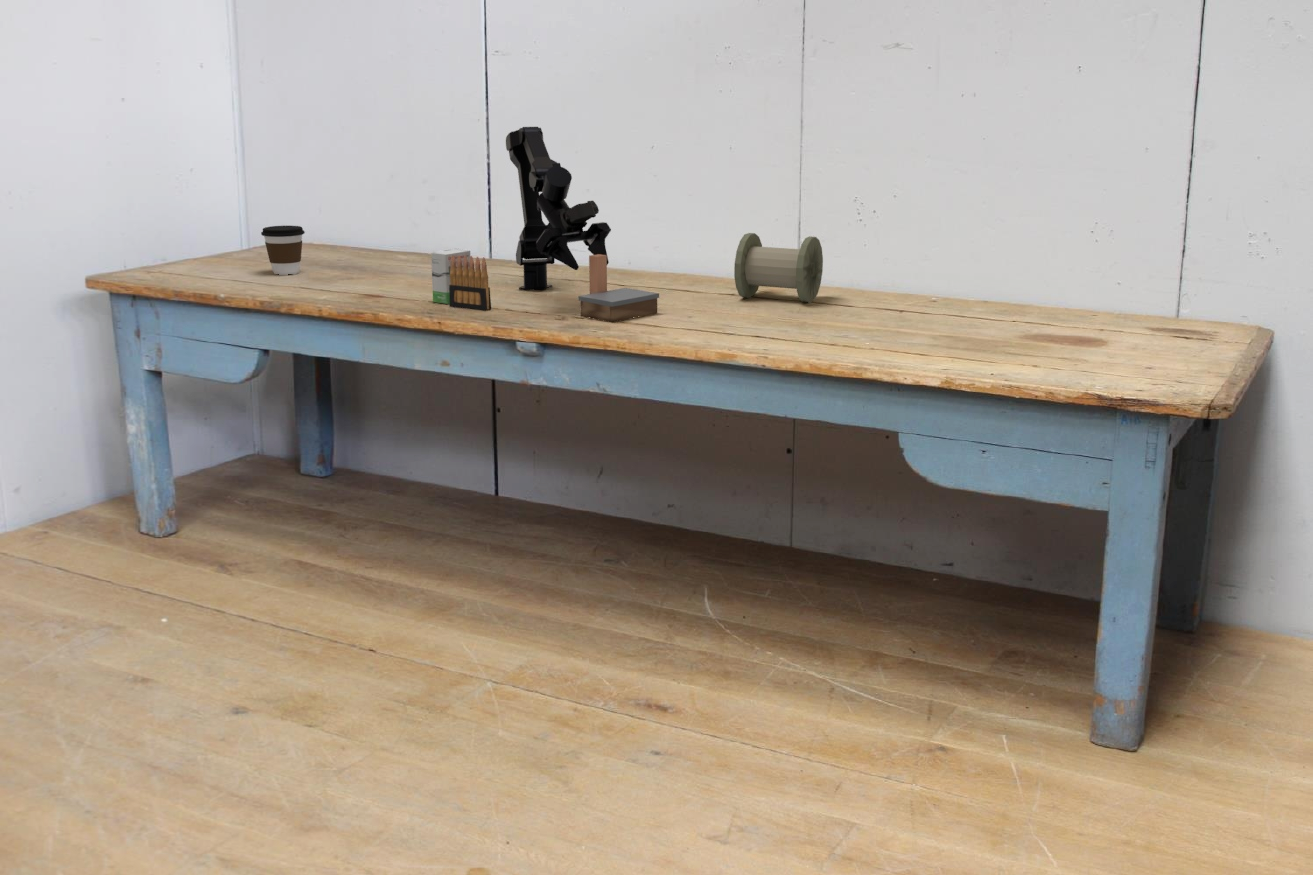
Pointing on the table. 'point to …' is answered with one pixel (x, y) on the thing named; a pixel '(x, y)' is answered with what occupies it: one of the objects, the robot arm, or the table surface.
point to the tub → (618, 310)
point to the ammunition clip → (469, 285)
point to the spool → (778, 267)
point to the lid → (613, 296)
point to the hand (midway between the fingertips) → (592, 266)
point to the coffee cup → (284, 248)
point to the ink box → (444, 272)
